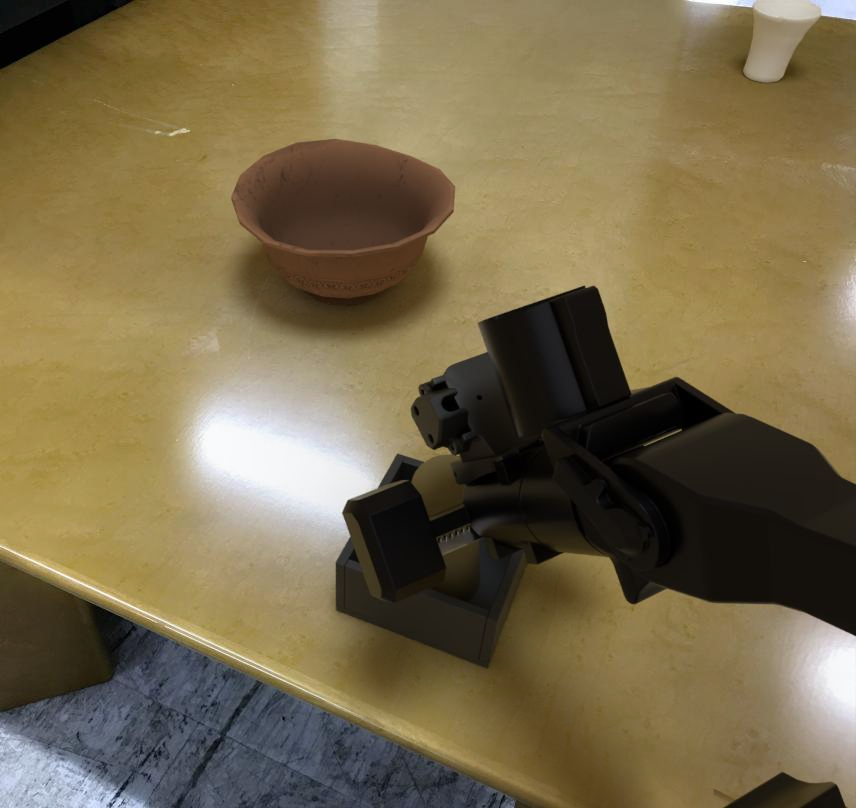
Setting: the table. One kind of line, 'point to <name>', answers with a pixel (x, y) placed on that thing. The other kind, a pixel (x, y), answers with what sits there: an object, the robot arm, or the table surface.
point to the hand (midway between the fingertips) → (439, 497)
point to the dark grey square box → (436, 597)
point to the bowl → (342, 215)
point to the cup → (777, 36)
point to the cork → (461, 563)
